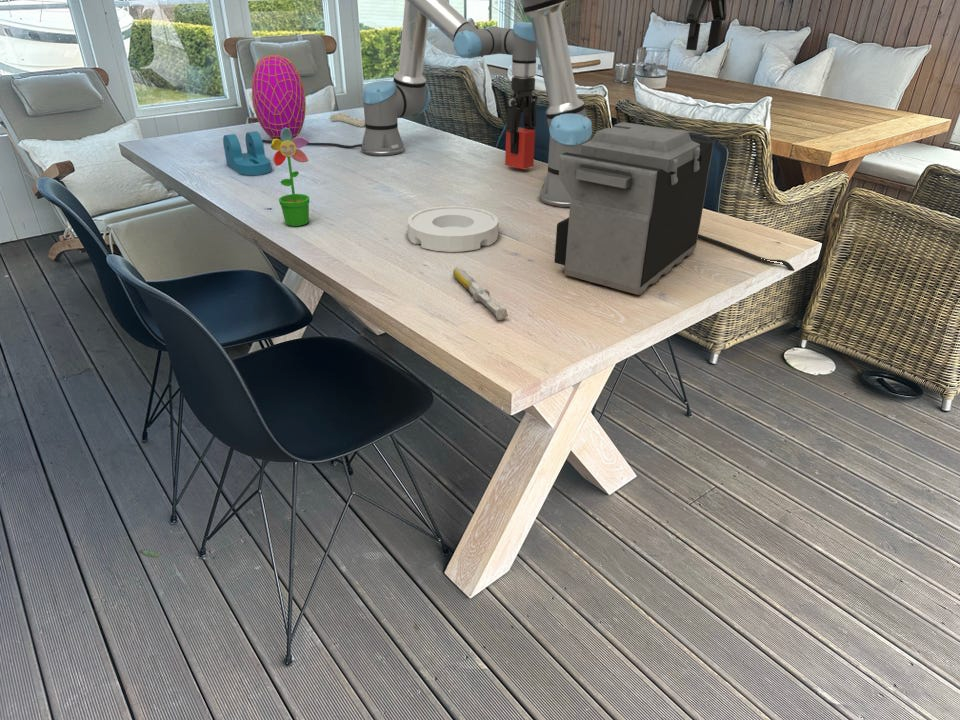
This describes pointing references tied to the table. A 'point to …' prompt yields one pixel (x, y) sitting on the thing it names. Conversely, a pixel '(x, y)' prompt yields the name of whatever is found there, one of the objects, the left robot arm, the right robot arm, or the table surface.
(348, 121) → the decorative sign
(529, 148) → the brick
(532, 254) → the table surface
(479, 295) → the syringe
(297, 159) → the potted flower
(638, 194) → the grey cooler box
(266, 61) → the decorative egg
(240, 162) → the camera mount
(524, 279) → the table surface
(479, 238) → the ashtray
